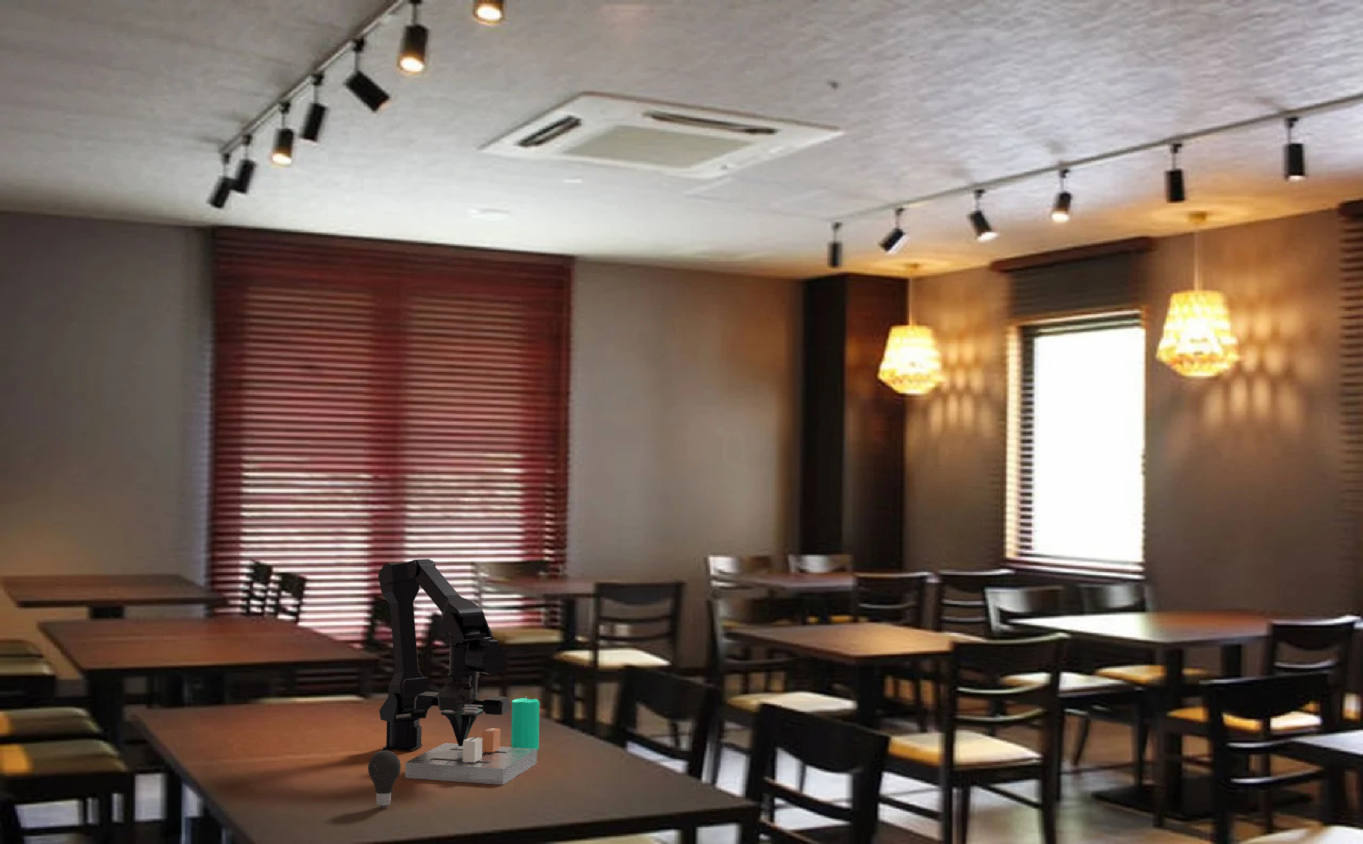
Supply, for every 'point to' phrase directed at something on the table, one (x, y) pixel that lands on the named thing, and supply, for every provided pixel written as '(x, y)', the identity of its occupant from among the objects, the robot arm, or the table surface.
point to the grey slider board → (471, 765)
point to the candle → (525, 723)
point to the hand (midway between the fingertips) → (461, 746)
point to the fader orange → (490, 740)
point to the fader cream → (472, 749)
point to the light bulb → (384, 775)
